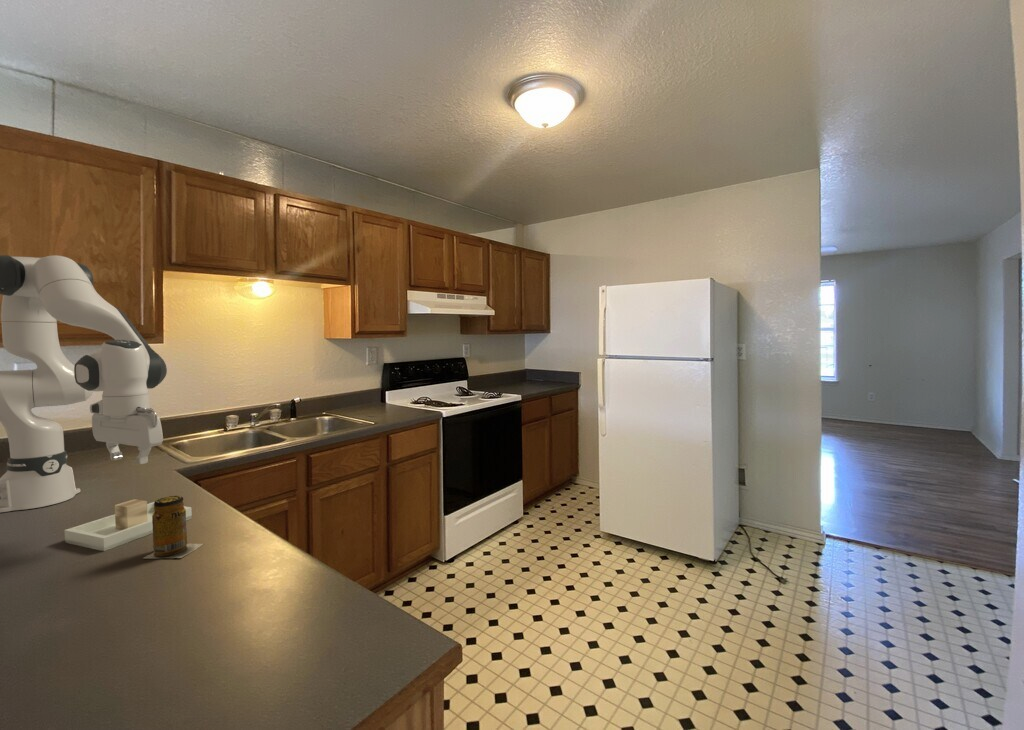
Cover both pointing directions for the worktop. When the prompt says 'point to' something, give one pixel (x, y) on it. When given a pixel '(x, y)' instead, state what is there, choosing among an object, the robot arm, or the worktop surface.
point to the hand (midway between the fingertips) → (129, 461)
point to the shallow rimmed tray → (111, 532)
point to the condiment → (170, 529)
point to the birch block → (130, 514)
